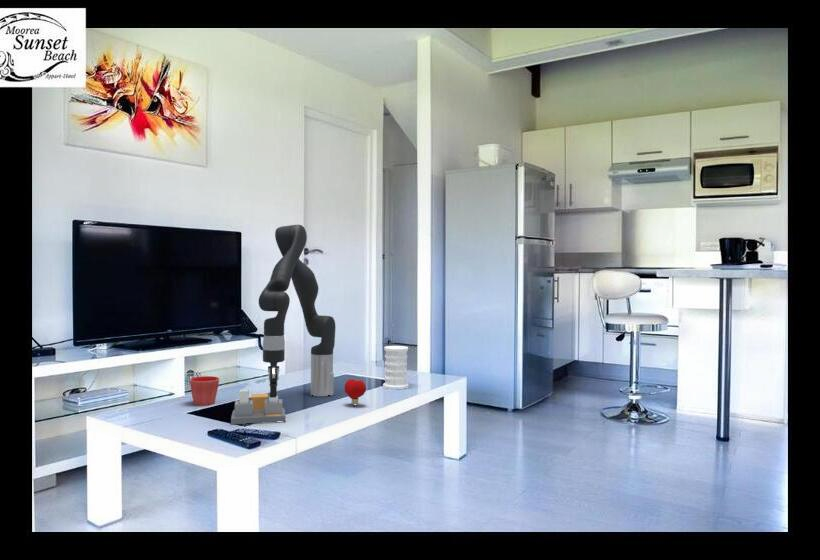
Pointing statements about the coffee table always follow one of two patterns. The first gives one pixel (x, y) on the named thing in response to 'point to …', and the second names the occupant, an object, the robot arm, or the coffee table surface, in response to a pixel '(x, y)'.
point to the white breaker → (273, 399)
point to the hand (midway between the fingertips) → (273, 396)
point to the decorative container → (396, 367)
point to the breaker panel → (258, 413)
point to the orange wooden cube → (259, 400)
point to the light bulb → (355, 389)
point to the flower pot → (204, 389)
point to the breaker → (244, 396)
